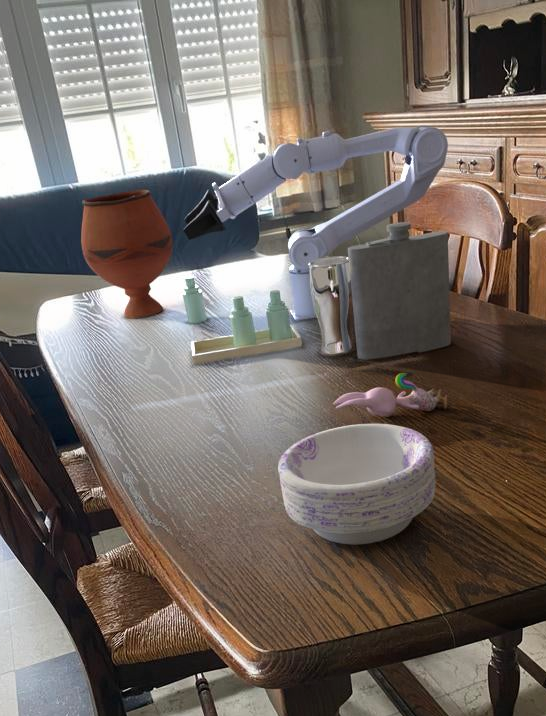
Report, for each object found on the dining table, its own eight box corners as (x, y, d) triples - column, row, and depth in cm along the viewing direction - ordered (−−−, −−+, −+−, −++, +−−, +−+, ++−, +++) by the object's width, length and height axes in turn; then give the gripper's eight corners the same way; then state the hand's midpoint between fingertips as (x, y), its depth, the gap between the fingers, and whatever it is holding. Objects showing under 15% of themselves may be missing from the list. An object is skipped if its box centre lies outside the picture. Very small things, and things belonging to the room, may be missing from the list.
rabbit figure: (433, 407, 104) (328, 410, 101) (438, 365, 101) (331, 367, 98) (449, 423, 98) (339, 426, 96) (455, 379, 96) (342, 381, 93)
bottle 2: (290, 337, 136) (284, 287, 132) (294, 343, 133) (287, 292, 129) (269, 340, 136) (261, 290, 132) (271, 346, 133) (264, 295, 128)
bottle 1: (255, 342, 136) (248, 293, 132) (258, 349, 132) (250, 298, 128) (234, 346, 136) (225, 296, 131) (235, 352, 132) (227, 301, 128)
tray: (295, 334, 139) (293, 324, 138) (302, 348, 131) (301, 337, 130) (192, 351, 138) (190, 341, 137) (194, 366, 129) (191, 355, 129)
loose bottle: (206, 316, 159) (198, 273, 155) (207, 321, 156) (199, 277, 151) (188, 319, 159) (179, 276, 154) (188, 324, 155) (179, 280, 151)
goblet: (83, 326, 165) (51, 206, 153) (131, 302, 180) (105, 191, 168) (156, 325, 158) (128, 199, 146) (200, 300, 173) (178, 184, 161)
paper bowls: (285, 497, 83) (275, 431, 79) (421, 478, 83) (417, 412, 79) (290, 572, 70) (278, 498, 66) (452, 551, 70) (449, 475, 66)
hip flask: (446, 339, 125) (442, 213, 115) (455, 346, 122) (452, 216, 112) (355, 357, 123) (343, 230, 113) (362, 364, 119) (351, 233, 110)
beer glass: (330, 361, 123) (320, 267, 115) (311, 352, 128) (300, 262, 121) (366, 350, 125) (359, 258, 118) (345, 342, 131) (337, 254, 123)
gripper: (234, 161, 142) (175, 201, 145) (235, 177, 131) (172, 220, 134) (254, 194, 146) (197, 232, 149) (257, 213, 134) (195, 254, 137)
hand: (187, 229), depth 142 cm, fingers open, 7 cm apart
